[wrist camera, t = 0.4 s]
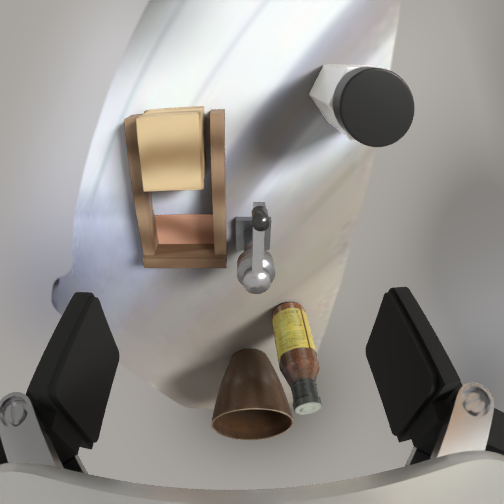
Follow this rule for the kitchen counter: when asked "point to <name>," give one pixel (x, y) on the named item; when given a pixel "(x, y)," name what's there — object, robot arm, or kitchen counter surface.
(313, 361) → the sauce bottle
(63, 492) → the robot arm
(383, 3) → the kitchen counter surface
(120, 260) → the kitchen counter surface
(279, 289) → the kitchen counter surface
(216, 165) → the bay
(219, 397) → the plant pot
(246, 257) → the winch post
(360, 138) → the jar
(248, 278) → the crank
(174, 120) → the tan wooden block
